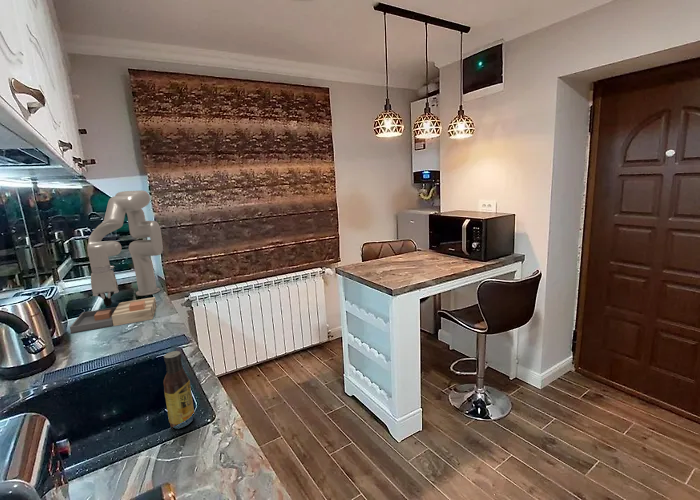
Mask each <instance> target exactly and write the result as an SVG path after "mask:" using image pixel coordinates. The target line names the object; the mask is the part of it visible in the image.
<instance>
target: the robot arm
mask: <svg viewBox="0 0 700 500" xmlns="http://www.w3.org/2000/svg"><path fill="white" fill-rule="evenodd" d="M150 202H151V196H150V194H149V193H148V191H145V190H142V189H141V190H124V191H118V192H117V193H115V196H112V197H110V198H109V199H108V202H107V206H106V211H105V215H104V219H103V221H102V222H101V223H100V224H98V225H97V226H96V227H95V229H93V230H92V232H91V234H90V235H89V238H88V243H87V248H86V249H87V254H88V258H89V259H88V260H89V264H90V267H91V268H90V269H91V273H90V287H91V292H92V296H93V297H98V298H101V299H102V300H103V305H105V307H111V306H112V304H113V301H112V296H114V294H118V293H119V292H120V290H119V285H118V281H117V277H116V274H115V271H114V270H113V269H115V266H114V265H111V264H110V259H109V257H115V256H117V255H118V256H119V254H120V253H121V252H122V245H121V243H120V242H119V241H116V240H104V241H102V240H103V239H104V237H106V236H107V235H108V234H111V233H113V232H115V231H117V230H118V229H121V228H122V227H123V226H124V222H125V218H126V216H127V221H128V229H129V234H130V236H131V237H132V238H135V239H139V240H134V241H132V242H130V243H129V245H128V251H129V253H130V256H131V259H132V263H133V268H134V273H135V277H136V278H135V279H136V283H137V288H138V290H137V291H135V295H136V296H140V297H143V296H144V297H146V296H149V295H150V296H151V295H154V294H157V293H159V292H160V291H161V288H160V287H157V282H156V277H155V271H154V264H153V261H152V259H151V258H150V257H157V256H160V255H162V253H163V250H164V246H163V237H162V230H161V226H160V224H159V223H158V222H157V220H146V217H145V211H144V210H143V208H145V207H147V206H148V205H149V204H150ZM141 238H143V239H141ZM144 238H145V239H144ZM146 238H149V239H146ZM106 293H107V295H106Z"/></svg>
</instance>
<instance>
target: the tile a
mask: <svg viewBox="0 0 700 500" xmlns="http://www.w3.org/2000/svg"><path fill="white" fill-rule="evenodd" d="M111 315H112V311H111V310H105V311H99V312H96V314H95V315H94V318H95V321H97V320H102V319H108V318H110V317H111Z"/></svg>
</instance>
